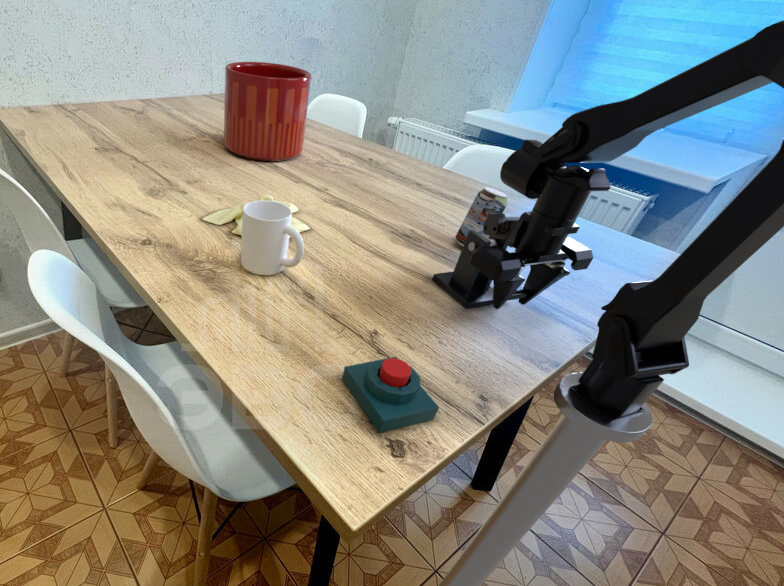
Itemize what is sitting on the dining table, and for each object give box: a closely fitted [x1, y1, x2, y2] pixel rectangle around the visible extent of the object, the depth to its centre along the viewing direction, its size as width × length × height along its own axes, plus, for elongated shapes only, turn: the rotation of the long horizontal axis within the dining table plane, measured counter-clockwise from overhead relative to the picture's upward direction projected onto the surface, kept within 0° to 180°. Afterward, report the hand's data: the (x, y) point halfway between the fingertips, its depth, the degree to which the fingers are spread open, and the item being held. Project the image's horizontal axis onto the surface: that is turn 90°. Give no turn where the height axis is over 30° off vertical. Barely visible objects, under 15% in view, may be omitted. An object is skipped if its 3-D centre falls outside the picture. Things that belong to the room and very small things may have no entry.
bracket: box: [431, 230, 509, 310], centre depth 80 cm, size 10×8×11 cm
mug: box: [240, 200, 305, 276], centre depth 80 cm, size 12×8×10 cm
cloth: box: [201, 194, 311, 239], centre depth 96 cm, size 22×19×6 cm
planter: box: [223, 61, 312, 162], centre depth 129 cm, size 23×23×20 cm
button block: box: [341, 356, 440, 434], centre depth 59 cm, size 10×8×4 cm
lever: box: [481, 234, 529, 302], centre depth 76 cm, size 12×5×2 cm, turn 21°
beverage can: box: [455, 186, 509, 247], centre depth 94 cm, size 6×7×12 cm
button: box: [379, 357, 411, 388], centre depth 57 cm, size 4×4×2 cm
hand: (508, 305), depth 75 cm, fingers closed on lever, 5 cm apart
